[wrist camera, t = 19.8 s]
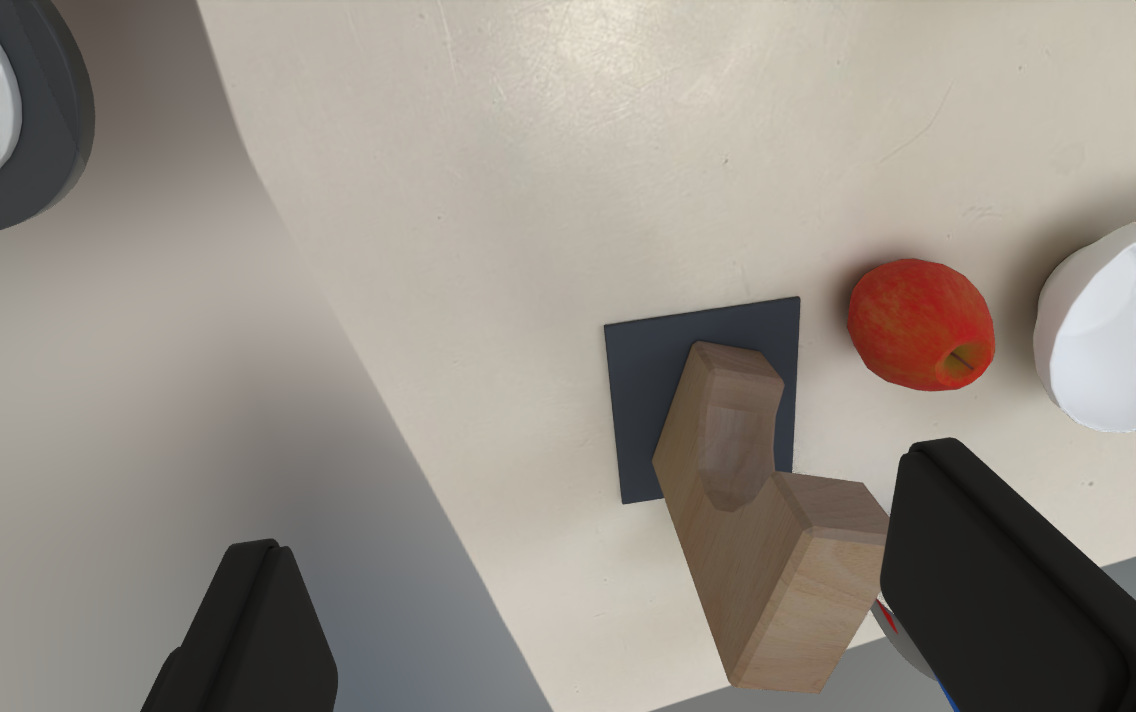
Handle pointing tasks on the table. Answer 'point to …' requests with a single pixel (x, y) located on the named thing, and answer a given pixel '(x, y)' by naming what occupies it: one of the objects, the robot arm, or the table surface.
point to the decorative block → (764, 528)
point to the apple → (921, 325)
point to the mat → (656, 362)
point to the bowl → (1091, 333)
